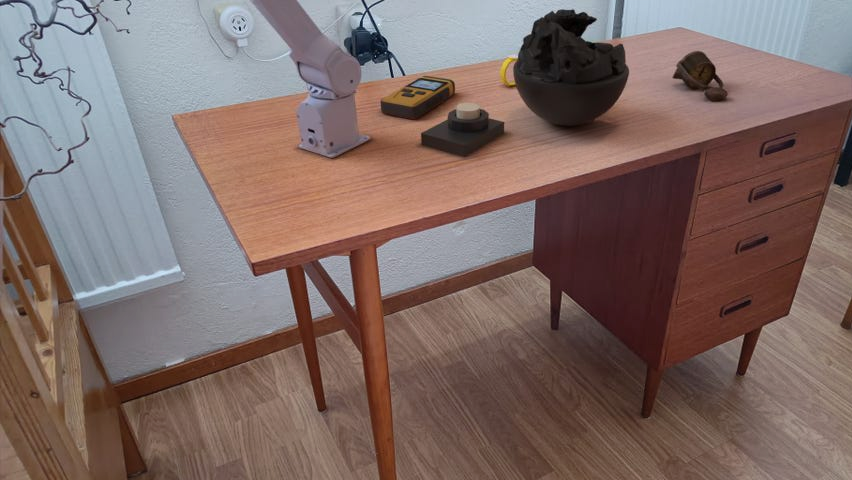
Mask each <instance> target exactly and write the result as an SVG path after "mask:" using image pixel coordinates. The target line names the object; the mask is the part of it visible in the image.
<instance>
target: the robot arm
mask: <svg viewBox="0 0 852 480" xmlns="http://www.w3.org/2000/svg"><path fill="white" fill-rule="evenodd" d="M249 1H250V2H251V3H252V5H253V6H254V7H255V8H256V9H257V10H258V12H259V13H260V14H261V16H262V17H263V18H264V19H265V21H267V23H268V24H269V25H270V26H271V27H272V28H273V29H274V31H275V32H276V33H277V34H278V35H279V37H280V38H281V39H282V40H283V42H285V44H286V45H287V46H288V47H289V49H290V51H289V54H288V56H289V58H290V59H291V60H292V62H293V63H294V65H295V68H296V73H297V75H298V77H299V78H300V79H301V80H302V81H303V82H304V83H305V84H306V90H307V91H308V95H307V97H306V98H305V100H304V101H302V102H300V103H299V104H298V106H297V109H296V119H297V125H298V130H299V137H300V142H301V143H300V144H298V148H299V149H302V150H305V151H309V152H311V153H314V154H318V155H321V156H324V157H326V158H330V159H333V158H335V157H338V156H340V155H342V154H344V153H346V152H348V151H350V150H352V149H354V148H356V147H358V146H360V145H362V144H364V143H366V142H369V141H370V140H371V136H369V135H367V134H362V133H360V132H359V131H360V130H359V123H358V114H357V105H356V97H355V96H356V95H355V94H356V93H357V89H358V87H359V85H360V84H361V80H362V66H361V64H360V61H358V59H357V58H356V57H355V56H353V55H351V54H348V53H347V52H345V51H344V50H343V48H341V46H340V45H339V44H337V42H335V41H333V40H332V39H331V38H329V37H328V36H326V35H325V34H324V33H323V31H321V30H320V29H319V27H318V25H317V24H316V23H315V22H314V20H313V19H312V18H311V16H310V15H309V14H308V12H306V10H305V9H304V7H303V6H302V5H301V3H300V2H299V1H298V0H249Z"/></svg>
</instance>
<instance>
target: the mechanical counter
mask: <svg viewBox="0 0 852 480" xmlns="http://www.w3.org/2000/svg"><path fill="white" fill-rule="evenodd" d="M675 67H676V69H675V71H674V73H673V75H672V79H674V80H682V82H683V83H684V84H685V86H686V87H687V88H688V89H690V90H703V94H704V97H705V98H706V100H709V101H711V102H717V101H722V100H725V99H726V98H727V97H728V96H729V93H728V91H727V90H726V89H724V82H723V81H722V79H721V78H720V77H719V75H718V74H717V68H716V66H715V64H714V63H713V62H712V61H711V59H710V58H709V57H708V55H707V54H706V53H705V52H703V51H701V50H700V51H699V50H695V51H691V52H689V53H687V54H685V55H684V56H683V57H682V58H681V59H680V60H679V61H677V63H676V66H675ZM713 80H714V81H715V82H716V83H717V85H718V86H709V84H710V83H711V82H712V81H713Z"/></svg>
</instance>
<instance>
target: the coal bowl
mask: <svg viewBox="0 0 852 480" xmlns="http://www.w3.org/2000/svg"><path fill="white" fill-rule="evenodd" d="M597 21H598V18H597V17H594V16H592V15H589V14H588V13H587V12H585V11H580V12H579V13H576V10H575V9H574V8H572V9H563V8H561V9H557V11H556V12H554V10H551V11H550V12H548V13H545V14H544V16H541V17H540V18H537V19H536V20H535V21H533V25H532V28H531V33H529V34H527V35H525V36H524V37H523V39H522V42H523V43H522V45H521V46H520V48H519V51H518V54H517V55H518V60H517V61H514V64H513V67H512V73H513V79H514V82H515V84H516V85H515V87H516V90H517V93H518V94H519V96H520V98H521V100H522V101H523V103H524V104H525V105H526V107H527V108H528V109H529V110H530V111H531V112H532V113H533V114H534V115H536V116H537V117H539V118H540V119H542V120H544V121H546V122H548V123H551V124H554V125H559V126H567V127H568V126H569V127H571V126H573V127H574V126H579V125H580V126H581V125H584V124H588V123H590V122H593V121H594V120H597V119H599V118H600V117H602V116H603V115H605V114H606V113H607V112H608V111H610V110H611V109H612V107H614V105H616V103H617V101H619V99H620V97H621V96H622V94H623V92H624V91H625V87H626V85H627V82H628V80H629V75H630V67H629V66H628V65H627V64H626V62H627V59H626V50H625V47H624V44H623V43H618V44H616V45H615V46H614V45H613V44H612V43H609V42H592V41H588V40H585V39H584V38H583V37H582V36H583V34H584V33H585V32H586V30H587V29H588V27H589V26H591V25H593V24H594V23H595V22H597Z"/></svg>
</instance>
